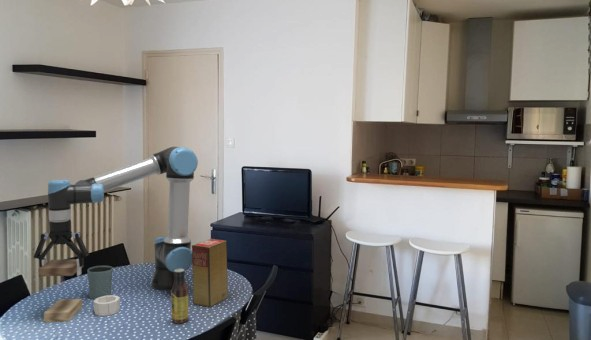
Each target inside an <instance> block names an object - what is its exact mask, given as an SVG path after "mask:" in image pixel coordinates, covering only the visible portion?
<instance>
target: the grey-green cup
mask: <svg viewBox="0 0 591 340" xmlns="http://www.w3.org/2000/svg"><path fill="white" fill-rule="evenodd" d="M113 269H114V268H113V266H110V265H95V266H92V267H89V268H88V269H86V271H87V279H88V280H87V281H88V291H89V299H93V300H95V299H96V298H99V297H102V296H107V295H112V280H113V271H114V270H113Z"/></svg>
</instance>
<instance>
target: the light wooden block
mask: <svg viewBox="0 0 591 340" xmlns="http://www.w3.org/2000/svg"><path fill="white" fill-rule="evenodd" d="M82 308H83V298H69V299H68V298H65V299H64V298H63V299H62V298H61V299H57V301H56V302H54V303H53V304H52V305H51V306H50V307H49V308H47V309H46V310H45V311H44V312H43V323H57V322H58V323H59V322H60V323H61V322H71V320H72V319H73V318H74V317H75V315H77V313H78V312H79V311H80V310H81V309H82Z"/></svg>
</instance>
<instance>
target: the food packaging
mask: <svg viewBox="0 0 591 340" xmlns="http://www.w3.org/2000/svg"><path fill="white" fill-rule="evenodd" d="M227 242H228V241H227V240H223V239H217V238H216V239H215V238H210V239H206V240H204V241H201V242H199V243H198V242H197V243H196V244H191V251H192V265H191V266H192V290H193V291H192V301H193V302H192V304H193V305H196V306H202V307H207V308H212V307H213V306H215V305H216V304H218V303H220V302H222V301H224V300H226V299H228V298H229V296H228V292H229V291H228V253H227V252H228V248H227V244H228V243H227Z"/></svg>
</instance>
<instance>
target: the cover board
mask: <svg viewBox="0 0 591 340" xmlns="http://www.w3.org/2000/svg"><path fill="white" fill-rule="evenodd" d="M77 259H78V258H72V259H71V258H69V259H68V258H67V259H51V260H49V261H47V263H46V264H45V265H43V266H42V267H40V266H39V268H38V277H42V276H45V277H65V276H66V277H71V276H74V275H75V274H77ZM84 267H85V265H83V266H82V267H81V269H82V268H84Z"/></svg>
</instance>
